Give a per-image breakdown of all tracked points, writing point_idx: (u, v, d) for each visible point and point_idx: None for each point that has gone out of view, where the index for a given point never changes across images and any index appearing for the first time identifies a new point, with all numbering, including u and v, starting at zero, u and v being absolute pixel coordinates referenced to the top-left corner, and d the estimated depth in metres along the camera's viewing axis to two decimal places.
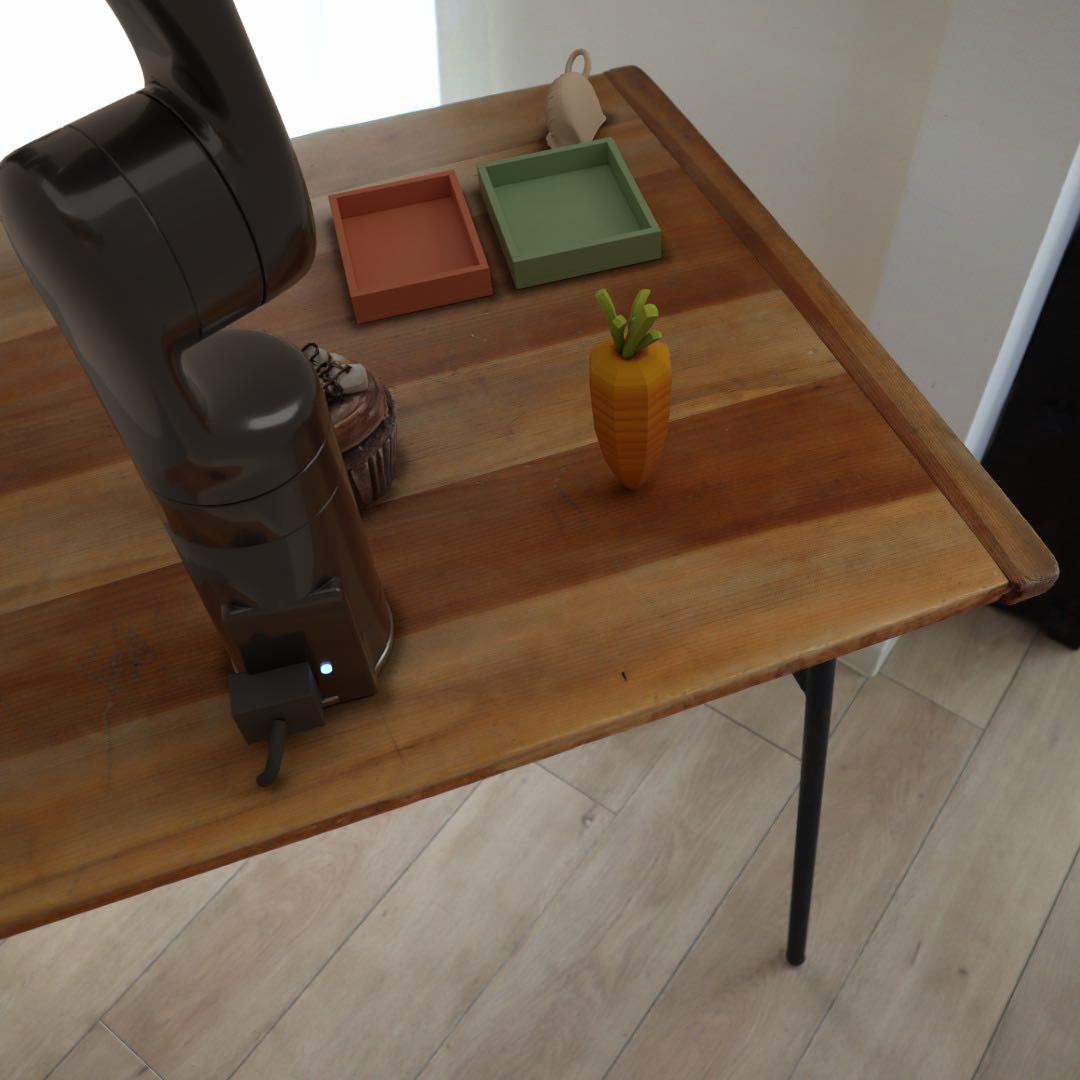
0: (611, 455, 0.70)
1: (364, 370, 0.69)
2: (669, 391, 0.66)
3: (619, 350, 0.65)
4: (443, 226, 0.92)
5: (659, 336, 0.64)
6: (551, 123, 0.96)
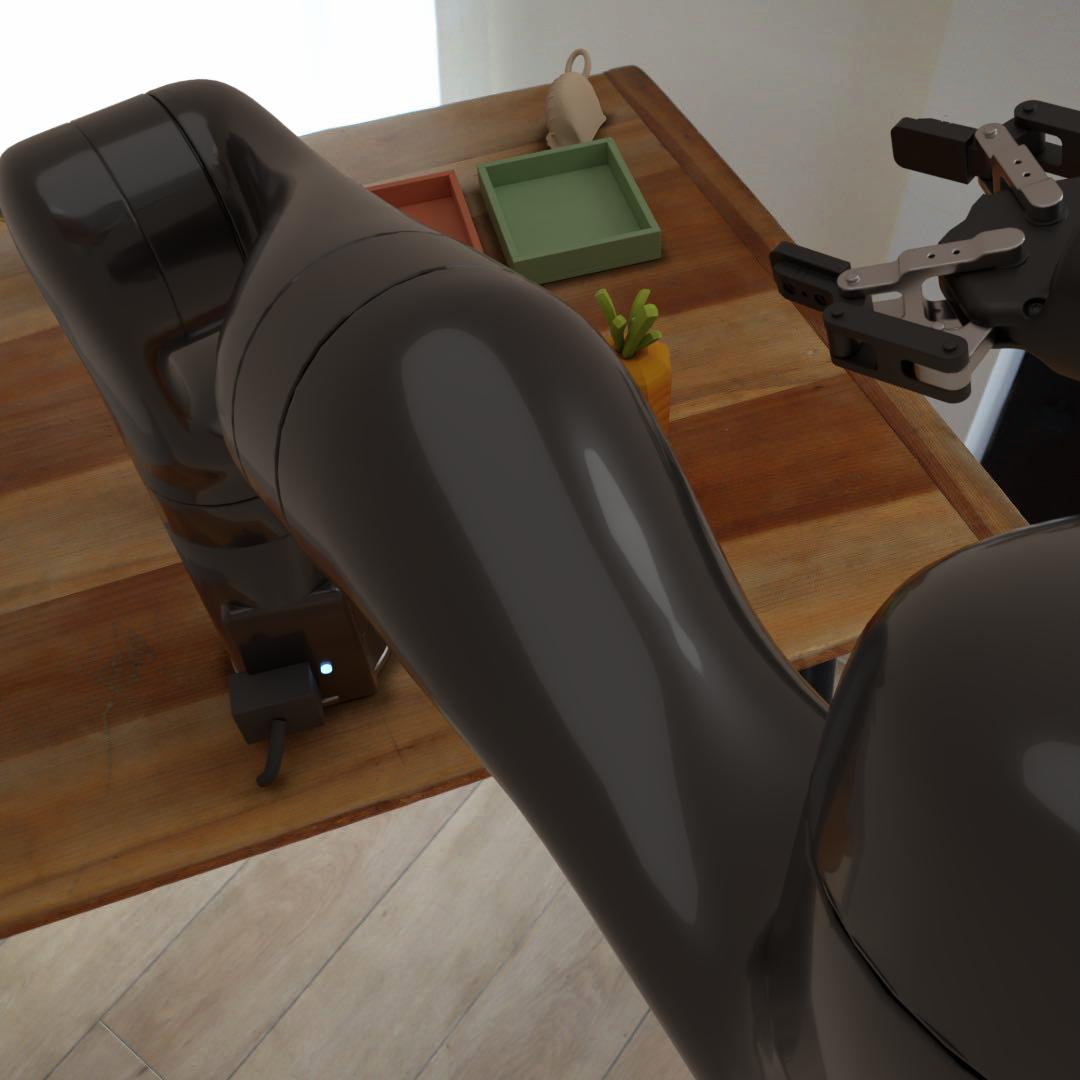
0: None
1: None
2: (669, 391, 0.66)
3: (619, 350, 0.65)
4: (443, 226, 0.92)
5: (659, 336, 0.64)
6: (551, 123, 0.96)
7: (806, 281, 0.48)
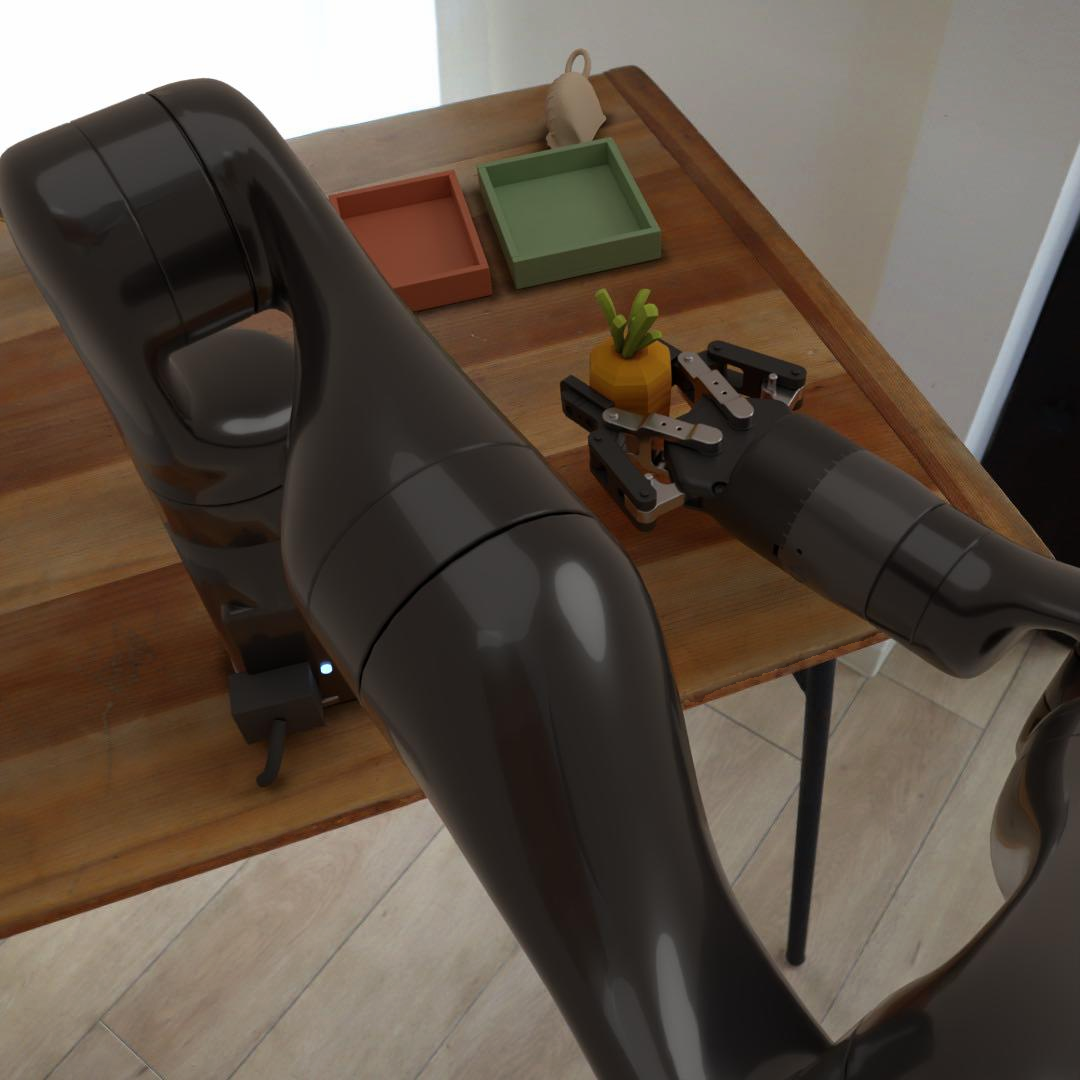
0: None
1: None
2: (669, 391, 0.66)
3: (619, 350, 0.65)
4: (443, 226, 0.92)
5: (659, 336, 0.64)
6: (551, 123, 0.96)
7: (582, 408, 0.66)
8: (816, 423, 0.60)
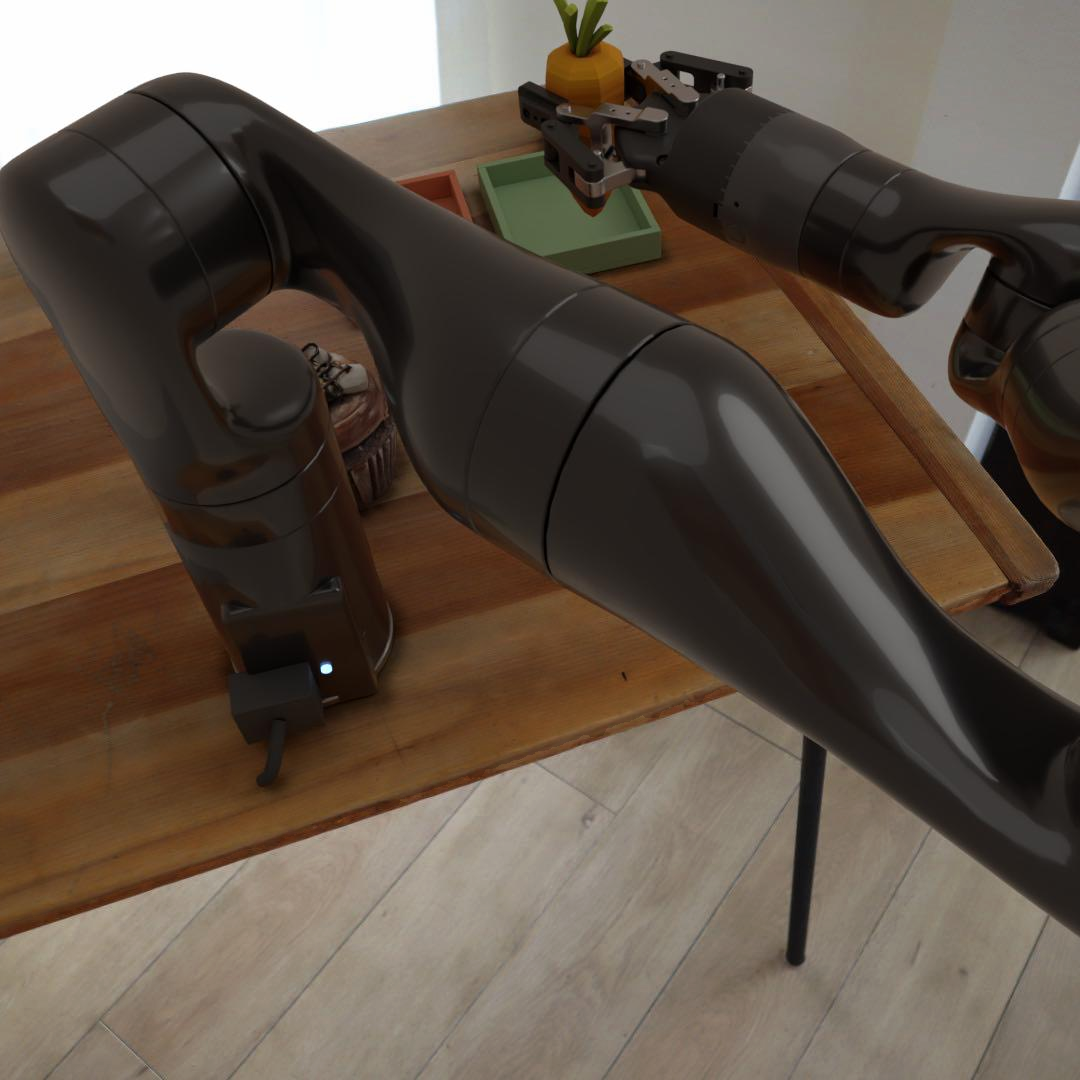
0: None
1: (364, 370, 0.69)
2: (622, 93, 0.69)
3: (573, 49, 0.68)
4: None
5: (610, 28, 0.66)
6: None
7: (538, 108, 0.69)
8: (756, 95, 0.63)
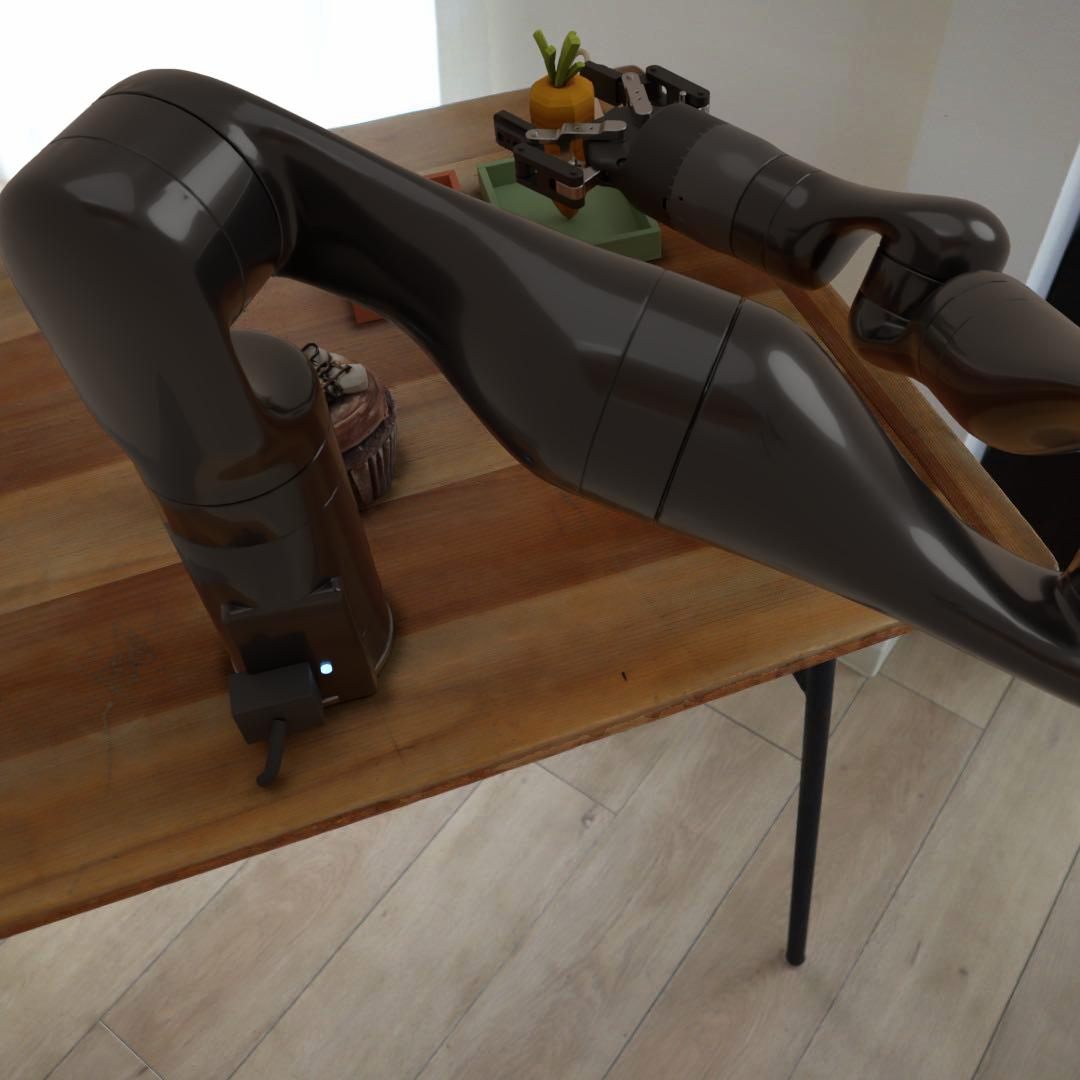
0: None
1: (364, 370, 0.69)
2: (593, 117, 0.84)
3: (552, 81, 0.83)
4: None
5: (582, 65, 0.81)
6: None
7: (510, 133, 0.82)
8: (697, 109, 0.77)
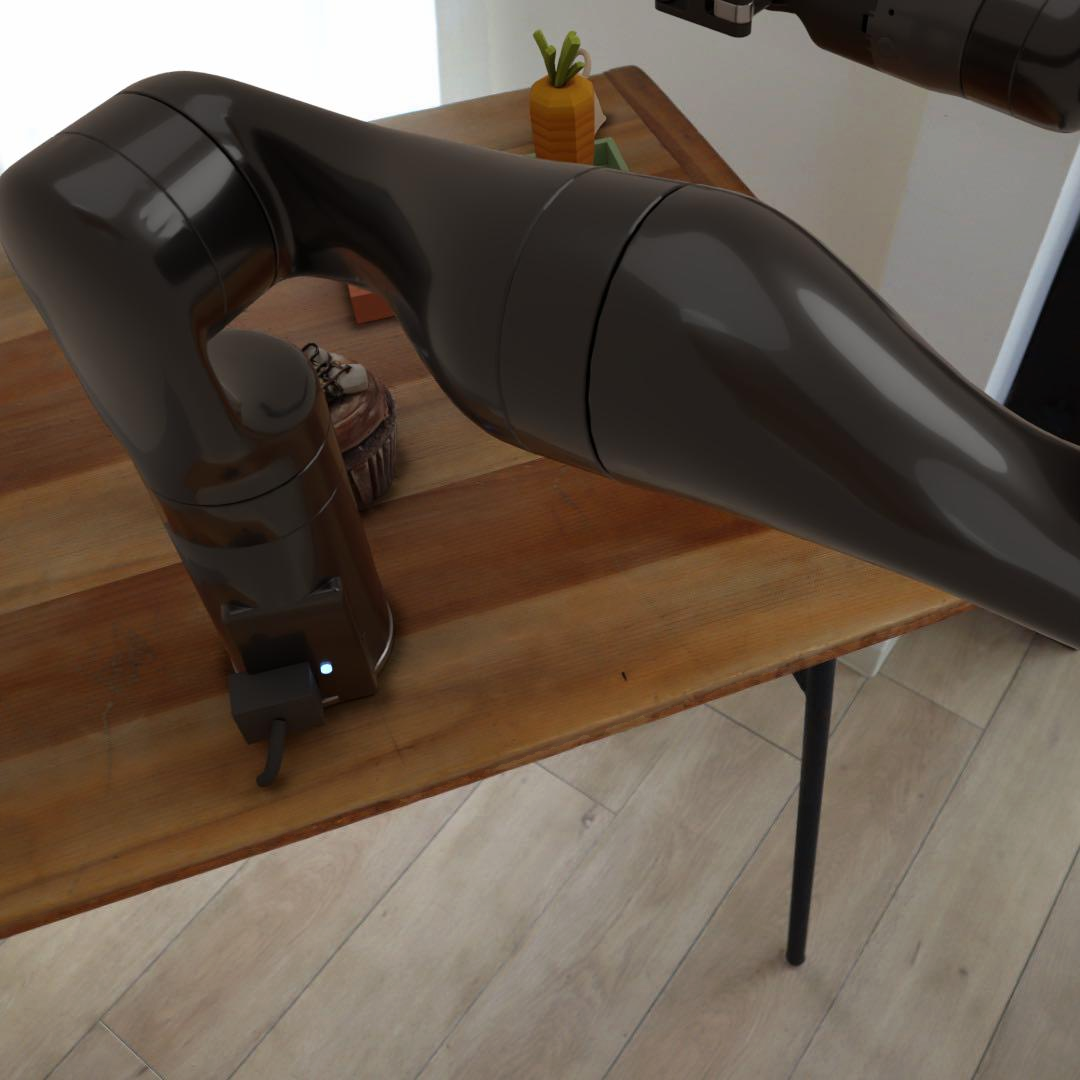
0: None
1: (364, 370, 0.69)
2: (592, 117, 0.84)
3: (552, 81, 0.83)
4: None
5: (582, 65, 0.81)
6: None
7: None
8: None
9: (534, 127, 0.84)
